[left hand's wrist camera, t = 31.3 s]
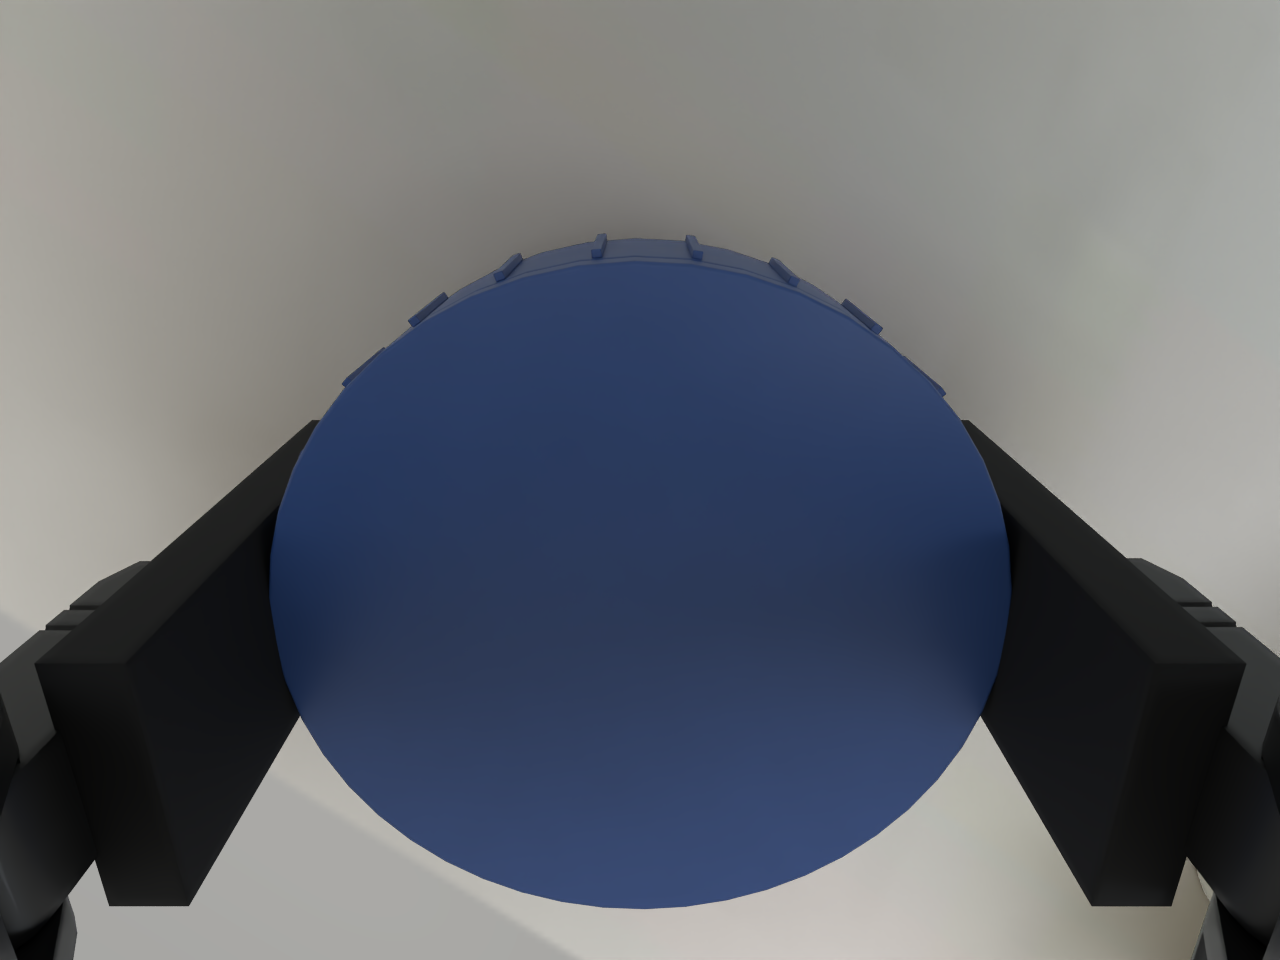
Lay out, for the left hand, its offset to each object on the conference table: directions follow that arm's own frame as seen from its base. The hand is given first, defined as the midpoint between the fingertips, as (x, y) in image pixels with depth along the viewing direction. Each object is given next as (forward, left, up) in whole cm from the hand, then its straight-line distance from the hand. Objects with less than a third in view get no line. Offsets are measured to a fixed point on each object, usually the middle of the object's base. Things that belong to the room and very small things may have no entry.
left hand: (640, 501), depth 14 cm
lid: (0, 0, +4) cm, 4 cm away
